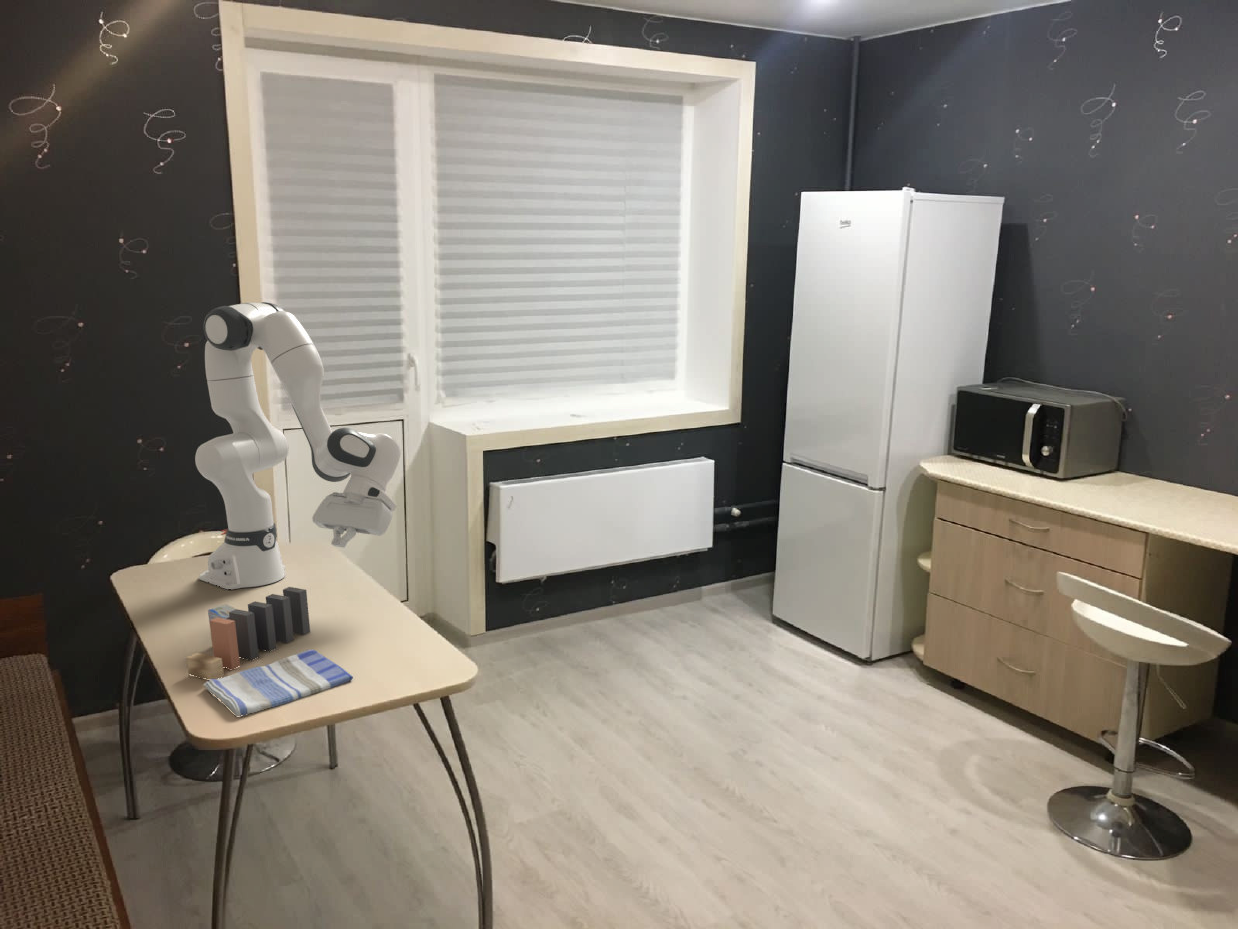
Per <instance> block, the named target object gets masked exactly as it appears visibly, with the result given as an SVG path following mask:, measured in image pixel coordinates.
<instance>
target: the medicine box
mask: <svg viewBox="0 0 1238 929" xmlns="http://www.w3.org/2000/svg"><path fill="white" fill-rule="evenodd" d="M236 609H237V608H235V607H233V606H231V605H229V604H223V605H219V606H215V607H213V608H210V609H208V610H207V612H208V622H209V624H210V620H212V619H214V618H217V617H219V618H223V619H228V620H230V617H229V612H231V611H233V610H236ZM209 630H210V632H211V629H210V628H209ZM210 638H211V637H210ZM211 640H212V638H211Z"/></svg>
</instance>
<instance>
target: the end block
mask: <svg viewBox="0 0 1238 929" xmlns="http://www.w3.org/2000/svg"><path fill="white" fill-rule="evenodd" d="M186 662H187V669H188V675H189V674H191V675H194V676H197V677H200V678H206V679H218V678H221V677H223V676H224V677H225V674H224V668H223V665H222V658H218V657H214V655H213V656H212V655H208V654H204V653H199V652H196V653H193V654H191V655H189V656H187V657H186ZM224 677H223V678H224ZM200 678H199V679H200Z"/></svg>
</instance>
